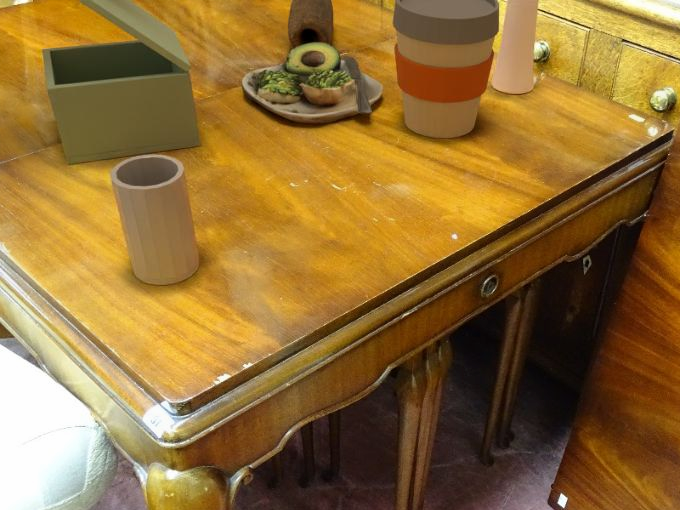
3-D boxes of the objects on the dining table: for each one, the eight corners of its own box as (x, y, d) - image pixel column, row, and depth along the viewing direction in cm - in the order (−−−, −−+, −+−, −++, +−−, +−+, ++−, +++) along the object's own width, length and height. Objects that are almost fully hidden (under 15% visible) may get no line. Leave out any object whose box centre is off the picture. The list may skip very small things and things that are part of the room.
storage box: (67, 164, 86) (46, 88, 80) (61, 120, 94) (41, 48, 88) (200, 146, 91) (190, 73, 85) (183, 105, 99) (172, 36, 93)
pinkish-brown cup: (124, 283, 70) (99, 186, 64) (144, 245, 75) (124, 152, 68) (190, 287, 70) (172, 191, 64) (206, 249, 75) (191, 156, 68)
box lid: (50, -18, 74) (54, -25, 74) (44, -50, 83) (48, -57, 82) (187, 72, 85) (191, 66, 85) (170, 35, 93) (174, 30, 93)
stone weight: (288, 24, 123) (285, -20, 119) (332, 24, 124) (331, -19, 120) (289, 61, 112) (286, 13, 107) (338, 60, 113) (337, 14, 108)
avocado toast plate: (420, 111, 101) (421, 77, 98) (300, 144, 92) (298, 108, 89) (340, 62, 112) (339, 30, 109) (227, 87, 103) (223, 53, 101)
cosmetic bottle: (490, 92, 106) (510, -83, 92) (490, 75, 111) (508, -94, 97) (534, 96, 106) (560, -79, 92) (532, 78, 111) (556, -91, 97)
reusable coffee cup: (370, 119, 98) (370, -3, 89) (438, 93, 105) (445, -22, 96) (441, 155, 92) (449, 28, 82) (508, 125, 99) (523, 4, 89)
